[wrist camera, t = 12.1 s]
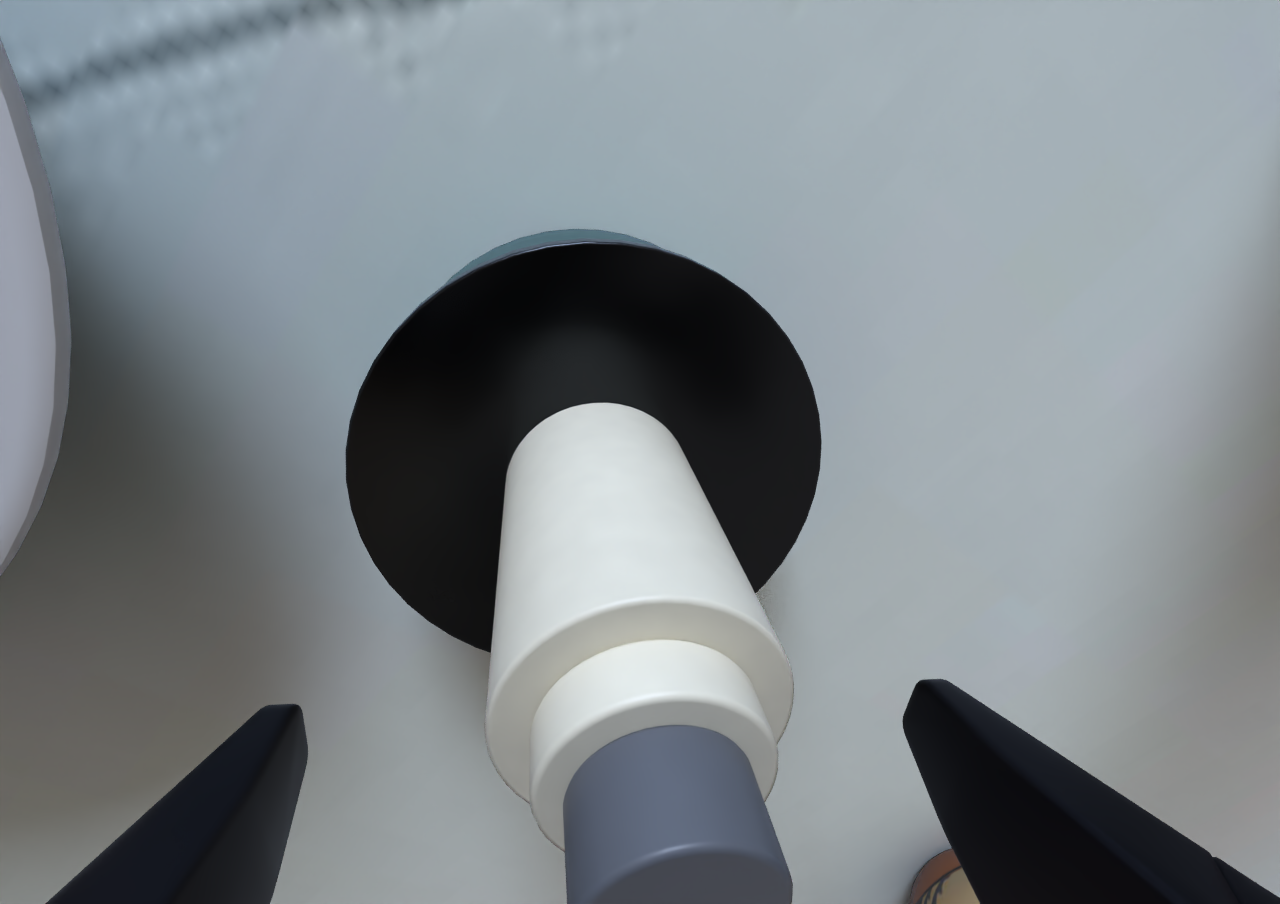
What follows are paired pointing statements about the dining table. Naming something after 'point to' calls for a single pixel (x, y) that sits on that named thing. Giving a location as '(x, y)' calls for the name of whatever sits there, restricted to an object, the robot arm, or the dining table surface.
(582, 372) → the enamel tin
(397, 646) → the dining table surface
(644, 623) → the bottle
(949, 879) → the ceramic vessel
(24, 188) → the soup bowl
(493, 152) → the dining table surface
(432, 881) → the dining table surface
